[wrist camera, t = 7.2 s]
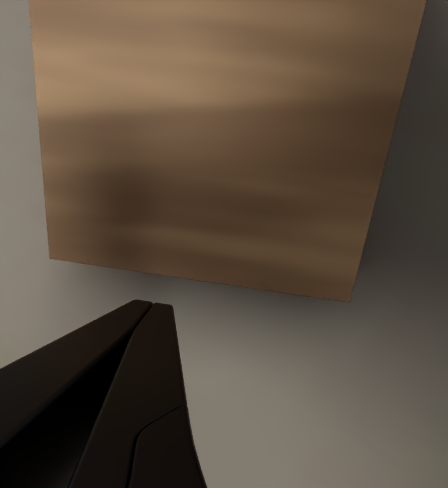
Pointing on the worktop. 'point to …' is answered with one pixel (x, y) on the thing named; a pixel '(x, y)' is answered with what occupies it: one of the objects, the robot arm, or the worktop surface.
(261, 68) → the domino
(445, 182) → the worktop surface
